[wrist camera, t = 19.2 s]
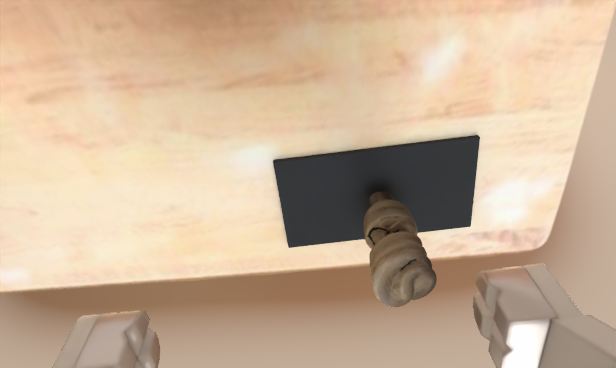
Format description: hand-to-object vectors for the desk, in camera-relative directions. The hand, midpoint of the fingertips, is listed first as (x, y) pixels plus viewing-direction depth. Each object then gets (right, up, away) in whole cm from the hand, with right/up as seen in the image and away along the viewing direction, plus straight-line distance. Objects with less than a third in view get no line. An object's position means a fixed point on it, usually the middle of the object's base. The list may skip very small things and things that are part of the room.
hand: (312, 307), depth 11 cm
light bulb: (+8, +2, +39) cm, 40 cm away
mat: (+8, +2, +40) cm, 40 cm away
